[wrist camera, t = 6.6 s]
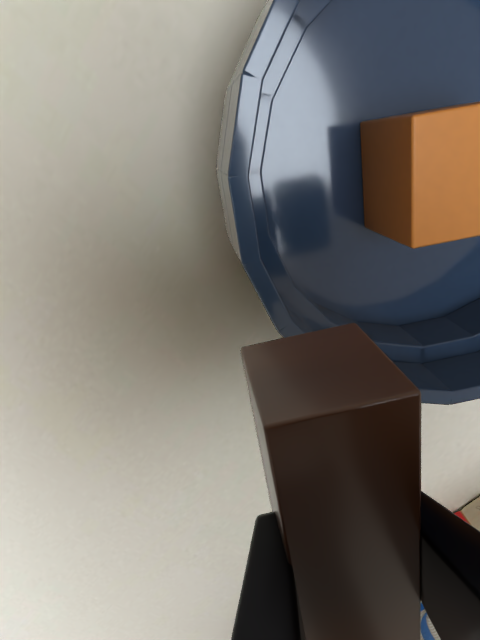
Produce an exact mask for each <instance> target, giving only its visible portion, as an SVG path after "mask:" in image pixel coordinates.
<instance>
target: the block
mask: <svg viewBox="0 0 480 640" xmlns="http://www.w3.org/2000/svg"><path fill="white" fill-rule="evenodd" d="M360 132H361V155H362V178H363V201H364V224H365V228H367V229H370V230H372V231H374V232H376V233H379V234H381V235H383V236H385V237H388V238H390V239H392V240H394V241H397V242H399V243H401V244H403V245H405V246H408V247H410V248H413V249H414V248H419V247H424V246H429V245H435V244H440V243H445V242H450V241H455V240H460V239H465V238H471V237H476V236H480V101H479V102H473V103H466V104H459V105H454V106H448V107H442V108H437V109H431V110H425V111H420V112H414V113H408V114H403V115H397V116H391V117H386V118H380V119H374V120H369V121H363V122H361V124H360Z"/></svg>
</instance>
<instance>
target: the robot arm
mask: <svg viewBox="0 0 480 640" xmlns="http://www.w3.org/2000/svg"><path fill="white" fill-rule="evenodd" d="M420 600H421V602H422V604H423V607H424V609H425V611H426V613H427V615H428V617H429V618H430V620H431V622H432V624H433V626H434V628H435V630H436V632H437V633H438V635H439V637H440V639H441V640H480V531H479V530H477V529H476V528H474V527H473V526H471V525H470V524H468V523H467V522H466V521H464V520H463V519H461V518H460V517H458V516H457V515H455V514H454V513H452V512H451V511H450V510H448V509H447V508H445V507H444V506H442V505H441V504H439V503H438V502H436V501H435V500H434V499H432V498H431V497H429V496H428V495H426V494H425V493H423V492H422V491H421V552H420ZM231 640H306V637H305V631H304V626H303V621H302V615H301V610H300V604H299V599H298V593H297V588H296V582H295V577H294V572H293V567H292V565H290V564H289V563H288V560H287V556H286V553H285V549H284V545H283V541H282V538H281V534H280V530H279V526H278V523H277V519H276V515H275V512H270V513H266V514H261V515H259V516H257V518H256V521H255V526H254V531H253V536H252V541H251V546H250V550H249V555H248V560H247V565H246V570H245V575H244V580H243V585H242V590H241V594H240V599H239V604H238V609H237V614H236V619H235V624H234V629H233V633H232V638H231Z"/></svg>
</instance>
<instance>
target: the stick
mask: <svg viewBox="0 0 480 640" xmlns="http://www.w3.org/2000/svg"><path fill="white" fill-rule="evenodd" d="M240 351H241V356H242V361H243V366H244V371H245V376H246V381H247V386H248V392H249V397H250V402H251V407H252V412H253V417H254V422H255V427H256V432H257V437H258V442H259V447H260V452H261V458H262V463H263V468H264V473H265V478H266V483H267V488H268V493H269V498H270V503H271V508H272V512H275V515H276V519H277V523H278V526H279V530H280V534H281V538H282V541H283V545H284V549H285V553H286V556H287V560H288V563H289V564H290V565H292V567H293V572H294V577H295V582H296V588H297V593H298V599H299V604H300V610H301V615H302V621H303V626H304V631H305V637H306V640H420V630H421V600H420V552H421V392H420V390H419V389H418V388H417V387H416V386H415V385H414V384H413V383H412V382H411V381H410V380H409V379H408V378H407V377H406V375H405V374H404V373H403V372H402V371H401V370H400V369H399V368H398V367H397V366H396V365H395V364H394V363H393V362H392V361H391V360H390V359H389V358H388V357H387V356H386V355H385V354H384V352H383V351H382V350H381V349H380V348H379V347H378V346H377V345H376V344H375V343H374V342H373V341H372V340H371V339H370V338H369V337H368V336H367V335H366V334H365V333H364V332H363V331H362V329H361V328H360V327H359V326H358V325H357V324H356V323H350V324H345V325H341V326H336V327H332V328H327V329H323V330H318V331H313V332H309V333H304V334H300V335H295V336H290V337H286V338H281V339H277V340H272V341H267V342H263V343H258V344H254V345H249V346H244V347H242V348H241V350H240Z"/></svg>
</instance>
